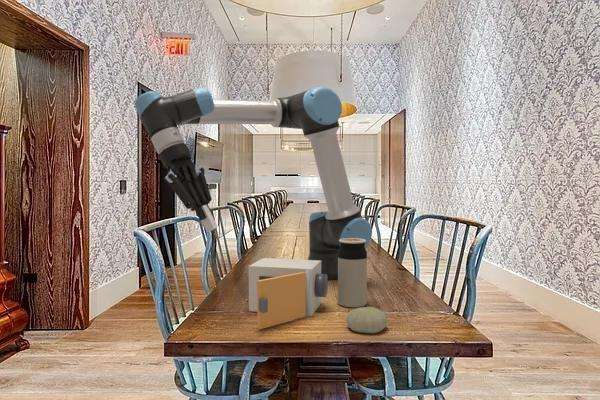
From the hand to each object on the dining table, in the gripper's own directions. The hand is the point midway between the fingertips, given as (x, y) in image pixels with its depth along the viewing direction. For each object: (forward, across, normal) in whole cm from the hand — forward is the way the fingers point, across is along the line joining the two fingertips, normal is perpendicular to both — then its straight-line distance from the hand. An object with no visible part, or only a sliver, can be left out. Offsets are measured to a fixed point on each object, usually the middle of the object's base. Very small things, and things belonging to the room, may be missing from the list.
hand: (212, 229), depth 112 cm
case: (+28, +11, -2) cm, 30 cm away
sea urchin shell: (+38, +6, -24) cm, 45 cm away
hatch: (+28, -1, -8) cm, 29 cm away
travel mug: (+35, +22, -13) cm, 44 cm away
